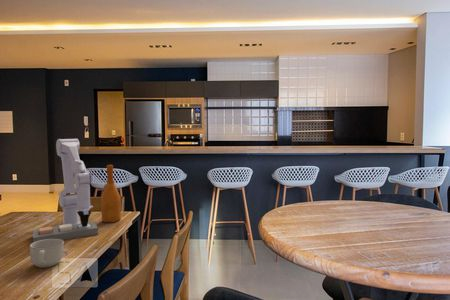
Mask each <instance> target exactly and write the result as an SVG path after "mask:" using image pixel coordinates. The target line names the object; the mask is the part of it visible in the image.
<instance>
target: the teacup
mask: <svg viewBox="0 0 450 300" xmlns="http://www.w3.org/2000/svg"><path fill="white" fill-rule="evenodd" d="M64 244H65V241H64V240H60V239H45V240H40V241H36V242H34V243H33V242H31V243H30V245H29V249H30V250H29V257H30V259H29V260H30V262H31V264H33V265H34V266H36V267H38V268H50V267H54V266H55V265H57V264H58V263H60V261H61V260H62V259H63V256H64V247H65V246H64Z"/></svg>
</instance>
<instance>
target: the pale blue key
mask: <svg viewBox="0 0 450 300" xmlns="http://www.w3.org/2000/svg"><path fill="white" fill-rule="evenodd" d="M87 227H91V226H90V224H88V225H87V226H84V227H82V225H79V226H78V228H79V229H81V228H87Z"/></svg>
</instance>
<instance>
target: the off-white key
mask: <svg viewBox="0 0 450 300" xmlns="http://www.w3.org/2000/svg"><path fill="white" fill-rule="evenodd" d="M58 227H59V230H60V232H61V231H68V230H72V225H71V224H65V225H63V224H60V225H58Z"/></svg>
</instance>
